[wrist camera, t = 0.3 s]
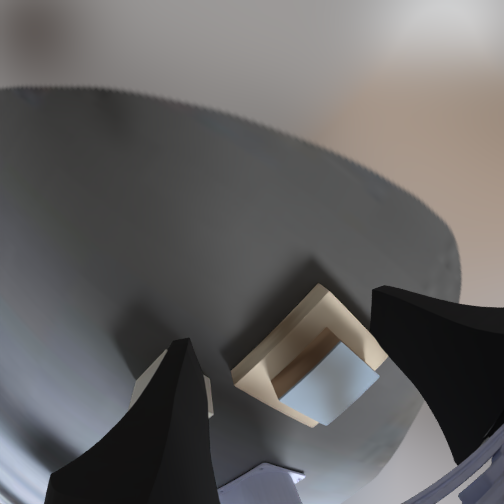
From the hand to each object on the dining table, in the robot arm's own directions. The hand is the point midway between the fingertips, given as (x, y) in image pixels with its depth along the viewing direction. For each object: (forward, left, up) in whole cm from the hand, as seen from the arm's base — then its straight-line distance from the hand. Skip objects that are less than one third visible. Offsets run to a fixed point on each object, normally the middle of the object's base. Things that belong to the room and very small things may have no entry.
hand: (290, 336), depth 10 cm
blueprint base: (-2, -10, -10) cm, 14 cm away
